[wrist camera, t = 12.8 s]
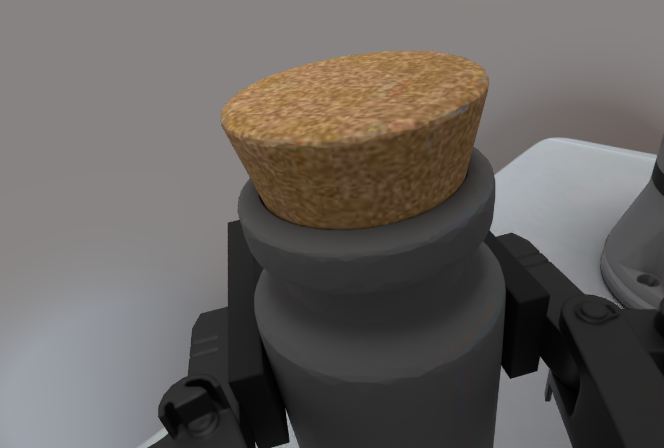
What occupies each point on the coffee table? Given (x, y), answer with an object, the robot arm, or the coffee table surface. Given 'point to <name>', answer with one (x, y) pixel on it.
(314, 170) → the bottle
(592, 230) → the coffee table surface
